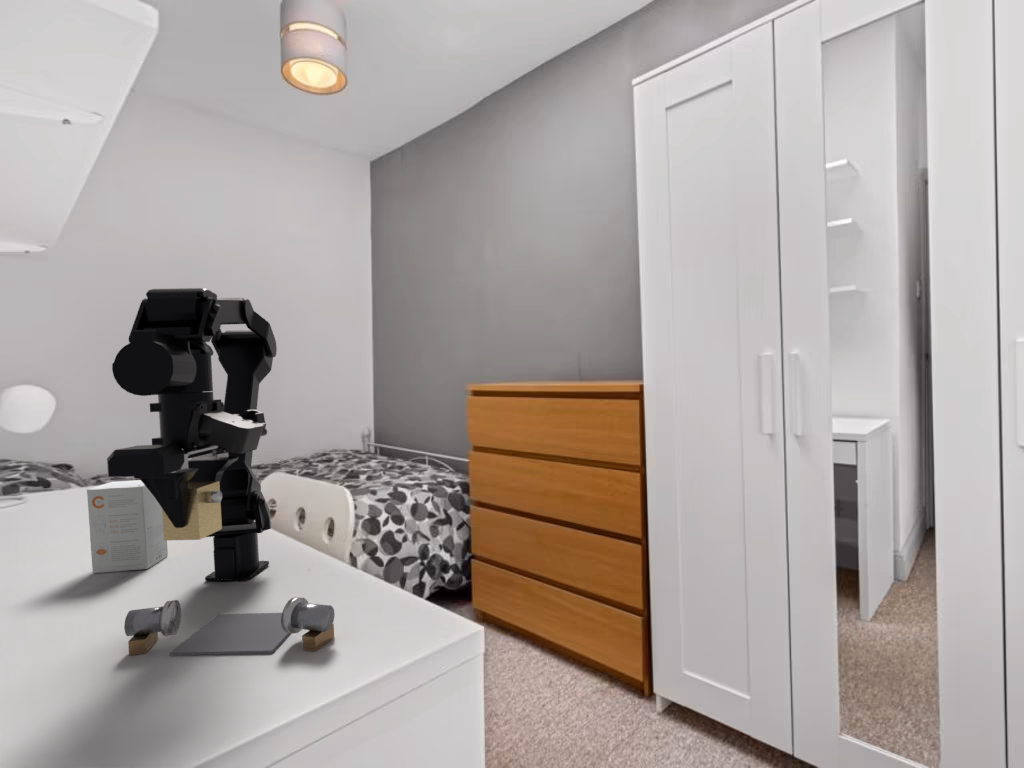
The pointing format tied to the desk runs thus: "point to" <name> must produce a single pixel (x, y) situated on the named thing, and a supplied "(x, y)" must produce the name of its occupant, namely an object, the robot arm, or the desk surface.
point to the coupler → (198, 513)
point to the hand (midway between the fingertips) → (193, 521)
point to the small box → (125, 527)
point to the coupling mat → (236, 635)
